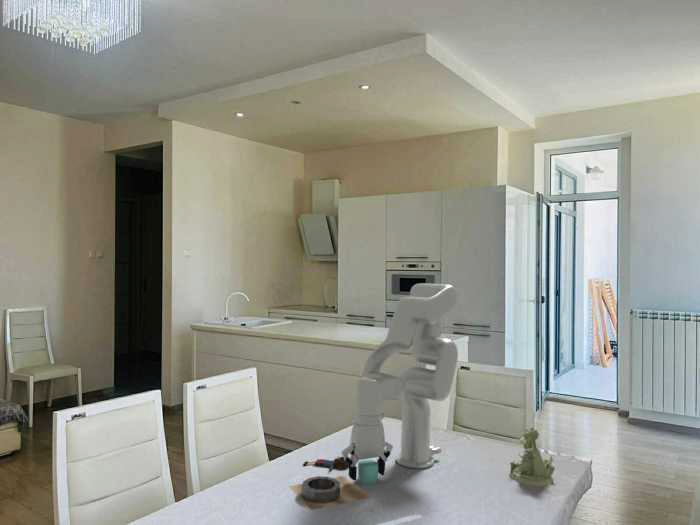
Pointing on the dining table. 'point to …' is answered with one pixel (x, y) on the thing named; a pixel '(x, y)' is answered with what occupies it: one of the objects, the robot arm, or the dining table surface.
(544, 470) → the figurine
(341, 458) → the toy
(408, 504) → the dining table surface
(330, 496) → the faceted gray ring
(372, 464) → the teal rounded tetrahedron
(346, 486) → the board
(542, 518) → the dining table surface
